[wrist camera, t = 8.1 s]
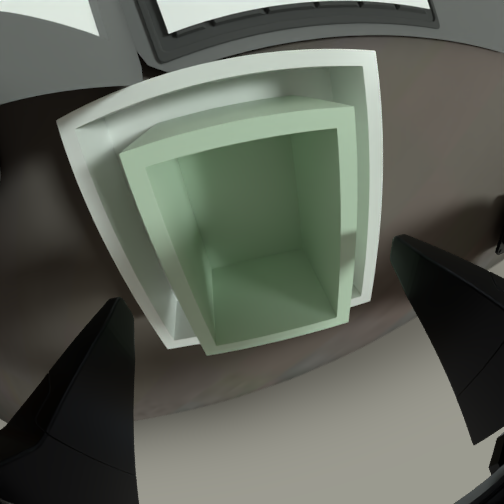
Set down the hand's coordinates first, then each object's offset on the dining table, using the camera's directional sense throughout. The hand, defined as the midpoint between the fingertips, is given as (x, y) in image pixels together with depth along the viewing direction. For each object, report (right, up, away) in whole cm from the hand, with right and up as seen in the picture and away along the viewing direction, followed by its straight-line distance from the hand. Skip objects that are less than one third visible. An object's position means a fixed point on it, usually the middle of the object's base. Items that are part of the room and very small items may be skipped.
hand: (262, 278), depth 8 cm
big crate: (-1, +4, +6) cm, 8 cm away
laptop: (+2, +28, -9) cm, 29 cm away
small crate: (-1, +4, +6) cm, 7 cm away
